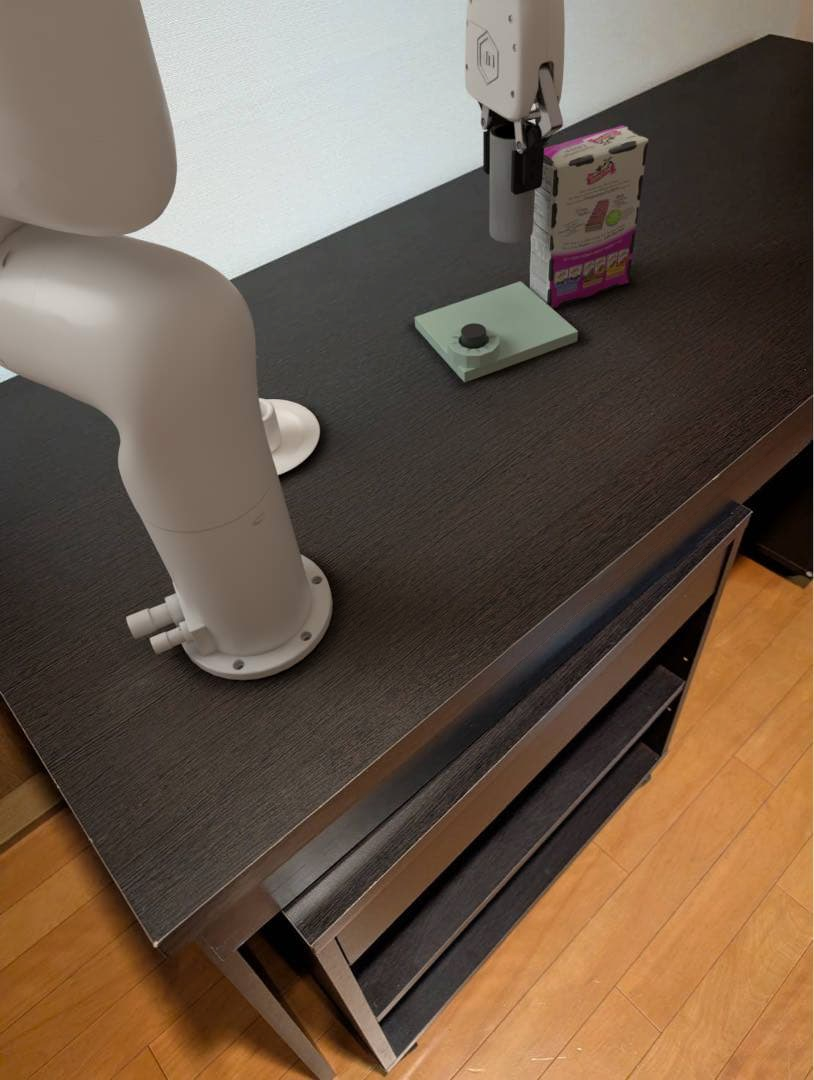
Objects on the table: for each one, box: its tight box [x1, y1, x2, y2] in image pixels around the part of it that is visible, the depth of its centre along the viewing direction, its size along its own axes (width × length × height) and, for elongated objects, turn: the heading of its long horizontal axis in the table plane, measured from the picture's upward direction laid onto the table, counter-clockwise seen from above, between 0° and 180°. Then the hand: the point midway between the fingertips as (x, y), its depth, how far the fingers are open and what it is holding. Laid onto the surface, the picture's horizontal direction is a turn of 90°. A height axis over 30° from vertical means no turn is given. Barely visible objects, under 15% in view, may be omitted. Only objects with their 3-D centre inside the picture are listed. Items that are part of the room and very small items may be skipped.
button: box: [461, 323, 486, 349], centre depth 80 cm, size 3×3×2 cm
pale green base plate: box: [414, 280, 579, 383], centre depth 84 cm, size 14×12×3 cm
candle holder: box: [259, 397, 321, 476], centre depth 75 cm, size 12×12×4 cm
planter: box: [488, 120, 536, 244], centre depth 76 cm, size 4×4×10 cm
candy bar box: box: [528, 125, 649, 310], centre depth 84 cm, size 11×5×16 cm, turn 114°
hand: (512, 178), depth 75 cm, fingers closed on planter, 4 cm apart
